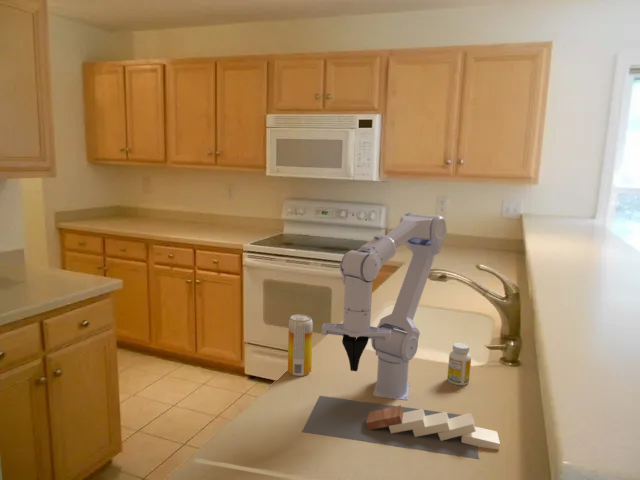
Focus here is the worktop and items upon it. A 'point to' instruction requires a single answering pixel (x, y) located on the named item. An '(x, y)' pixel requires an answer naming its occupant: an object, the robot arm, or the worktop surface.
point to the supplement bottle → (459, 364)
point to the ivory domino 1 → (410, 421)
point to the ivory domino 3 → (458, 427)
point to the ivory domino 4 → (482, 438)
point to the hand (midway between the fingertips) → (354, 369)
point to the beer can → (300, 345)
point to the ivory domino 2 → (433, 424)
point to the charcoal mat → (351, 424)
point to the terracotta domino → (385, 417)
